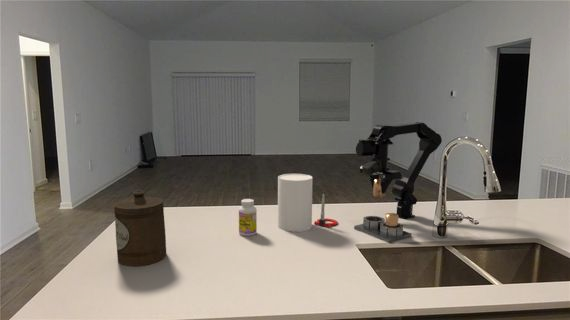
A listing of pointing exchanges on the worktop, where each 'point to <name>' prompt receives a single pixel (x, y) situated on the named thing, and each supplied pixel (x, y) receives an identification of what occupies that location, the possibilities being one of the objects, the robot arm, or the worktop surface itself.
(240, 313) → the worktop surface
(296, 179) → the canister
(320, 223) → the tow hook
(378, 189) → the brass peg
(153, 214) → the wooden container
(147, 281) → the worktop surface
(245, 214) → the supplement bottle
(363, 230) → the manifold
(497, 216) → the worktop surface
